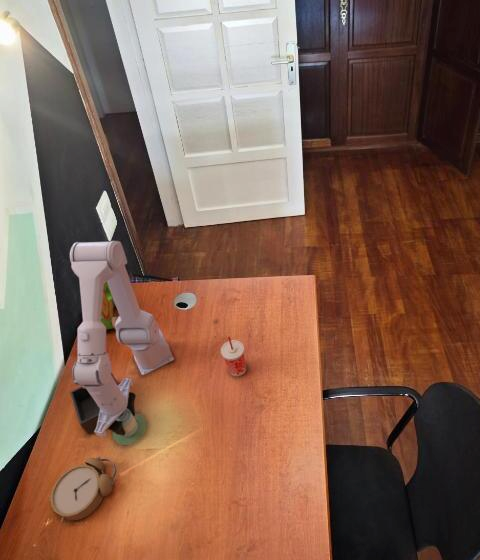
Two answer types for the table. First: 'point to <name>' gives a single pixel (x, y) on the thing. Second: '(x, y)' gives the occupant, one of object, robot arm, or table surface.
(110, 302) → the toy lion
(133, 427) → the bottle
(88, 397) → the bin
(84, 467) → the alarm clock
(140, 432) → the coaster
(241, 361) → the beverage cup
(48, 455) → the table surface
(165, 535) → the table surface
